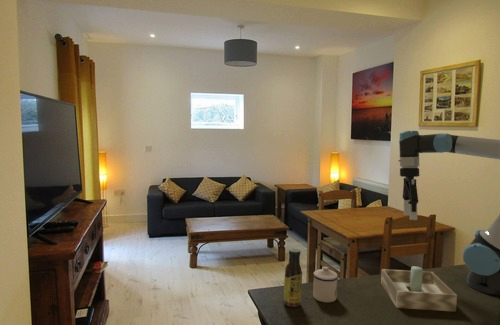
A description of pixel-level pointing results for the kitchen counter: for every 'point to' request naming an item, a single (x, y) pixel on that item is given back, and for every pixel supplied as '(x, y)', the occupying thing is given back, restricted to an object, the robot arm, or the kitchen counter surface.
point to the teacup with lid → (325, 285)
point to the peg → (416, 279)
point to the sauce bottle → (293, 280)
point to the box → (429, 298)
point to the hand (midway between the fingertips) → (410, 217)
